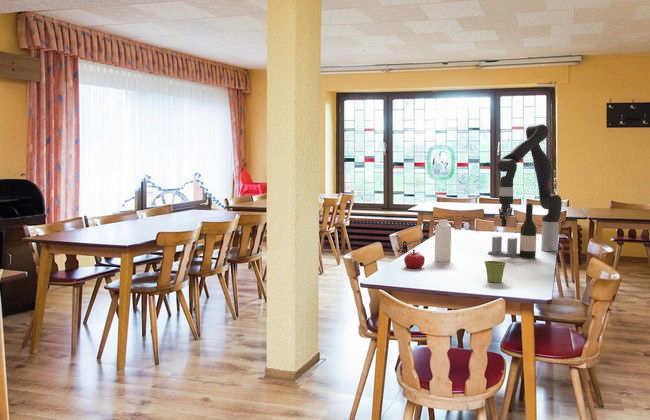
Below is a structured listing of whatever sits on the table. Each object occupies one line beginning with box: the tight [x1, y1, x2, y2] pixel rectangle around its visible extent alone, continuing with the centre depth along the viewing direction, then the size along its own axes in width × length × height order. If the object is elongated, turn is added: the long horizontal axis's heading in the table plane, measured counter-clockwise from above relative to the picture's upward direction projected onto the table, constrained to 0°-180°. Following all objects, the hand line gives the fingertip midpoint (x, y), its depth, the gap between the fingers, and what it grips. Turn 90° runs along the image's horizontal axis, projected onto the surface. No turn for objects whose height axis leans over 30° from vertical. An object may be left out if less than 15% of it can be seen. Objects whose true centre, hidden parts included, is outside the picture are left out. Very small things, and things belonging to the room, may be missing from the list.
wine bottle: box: [519, 202, 537, 260], centre depth 346 cm, size 8×8×30 cm
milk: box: [434, 218, 452, 263], centre depth 334 cm, size 6×6×22 cm
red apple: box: [403, 248, 425, 269], centre depth 314 cm, size 10×10×9 cm
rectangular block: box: [493, 214, 518, 229], centre depth 354 cm, size 4×12×6 cm, turn 51°
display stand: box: [487, 235, 520, 258], centre depth 355 cm, size 7×16×10 cm, turn 51°
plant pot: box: [484, 260, 507, 284], centre depth 282 cm, size 9×9×9 cm
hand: (505, 225), depth 354 cm, fingers closed on rectangular block, 3 cm apart
